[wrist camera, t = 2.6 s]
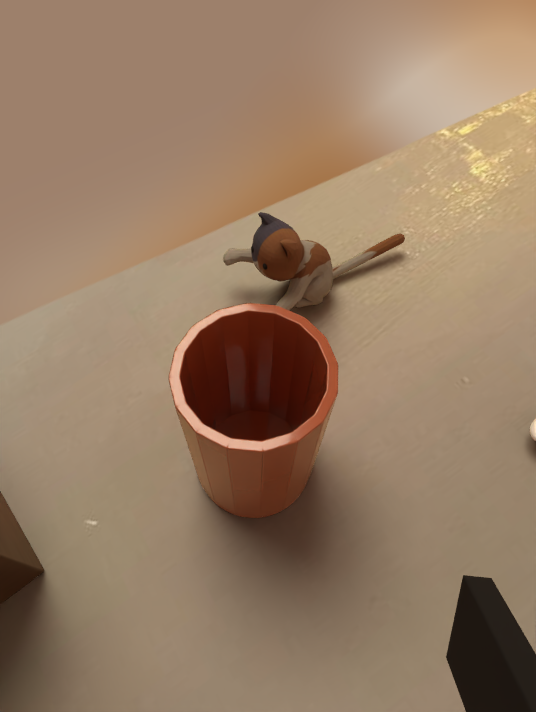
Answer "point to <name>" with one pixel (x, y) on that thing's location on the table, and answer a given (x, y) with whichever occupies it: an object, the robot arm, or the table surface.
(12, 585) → the stand
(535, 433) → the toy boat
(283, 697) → the table surface
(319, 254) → the toy
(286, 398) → the cup
